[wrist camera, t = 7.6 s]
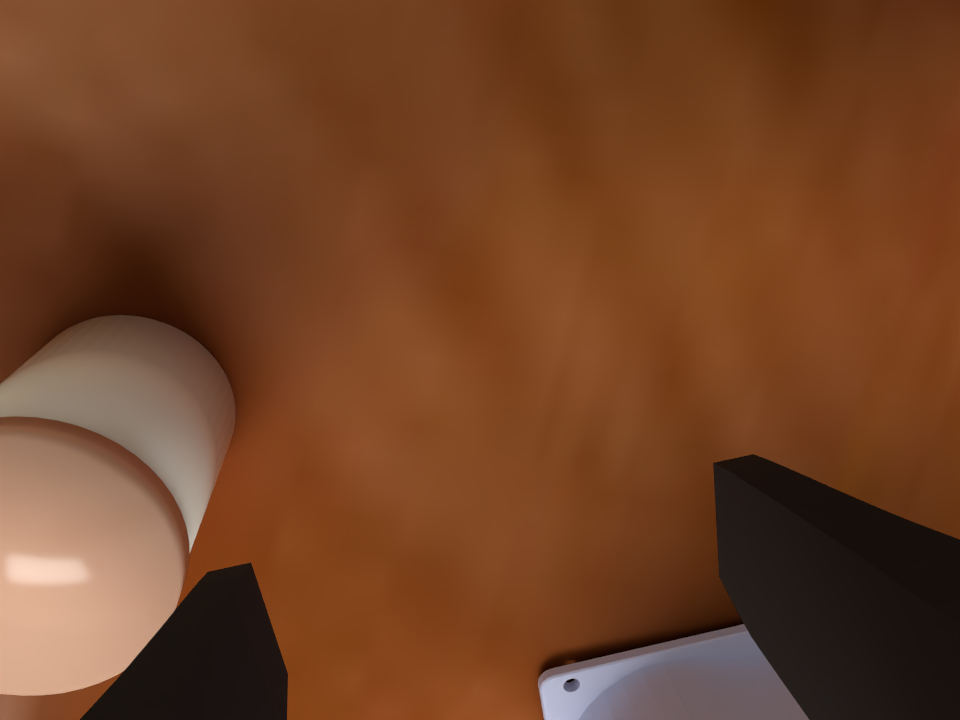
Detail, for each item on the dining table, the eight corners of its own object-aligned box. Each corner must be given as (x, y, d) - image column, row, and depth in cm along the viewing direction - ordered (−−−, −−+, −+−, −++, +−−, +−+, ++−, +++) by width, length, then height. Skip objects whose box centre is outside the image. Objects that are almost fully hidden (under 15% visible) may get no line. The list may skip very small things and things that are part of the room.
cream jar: (198, 288, 18) (111, 402, 12) (266, 470, 20) (221, 650, 14) (-17, 340, 18) (-222, 486, 12) (73, 520, 20) (-62, 727, 14)
